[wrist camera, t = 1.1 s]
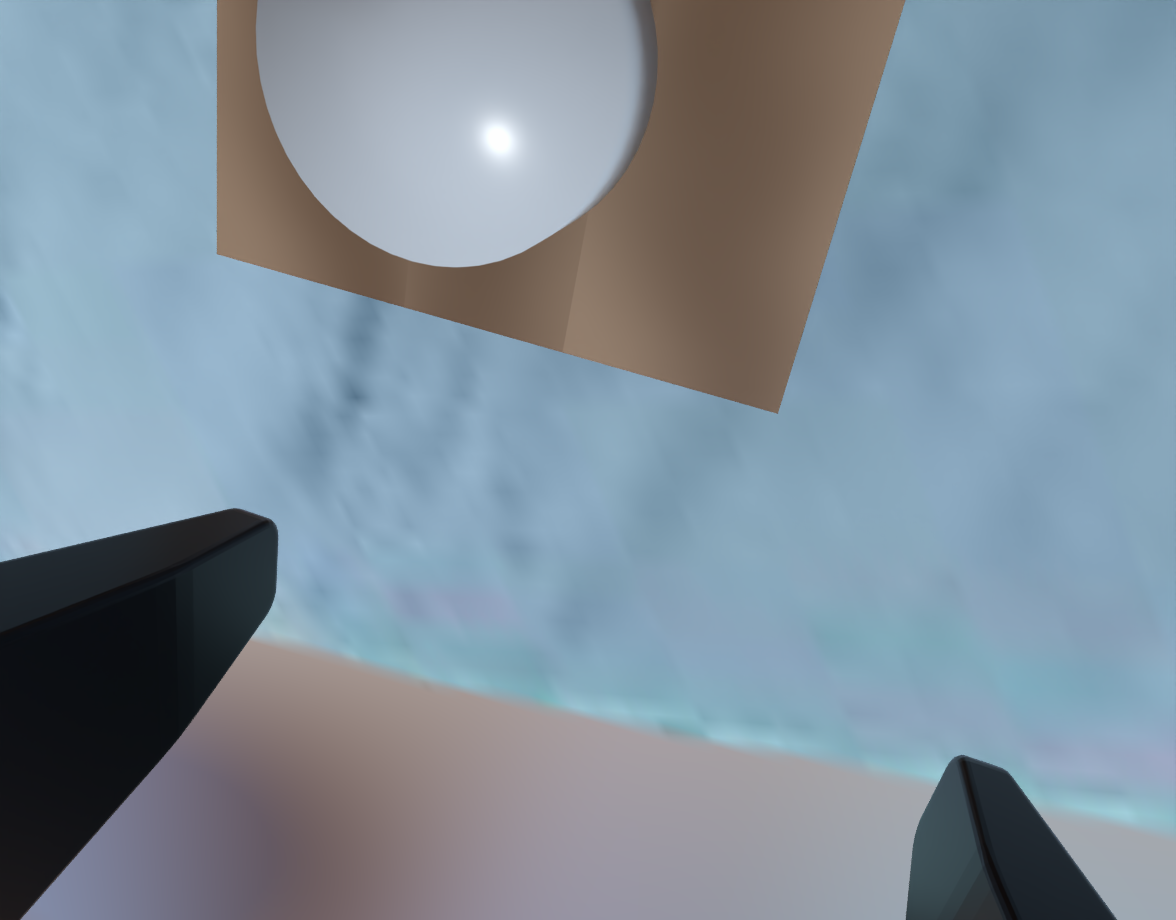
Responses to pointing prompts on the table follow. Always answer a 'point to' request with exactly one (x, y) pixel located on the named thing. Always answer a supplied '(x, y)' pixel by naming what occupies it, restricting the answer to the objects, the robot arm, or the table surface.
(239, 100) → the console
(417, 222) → the slate button
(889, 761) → the table surface
